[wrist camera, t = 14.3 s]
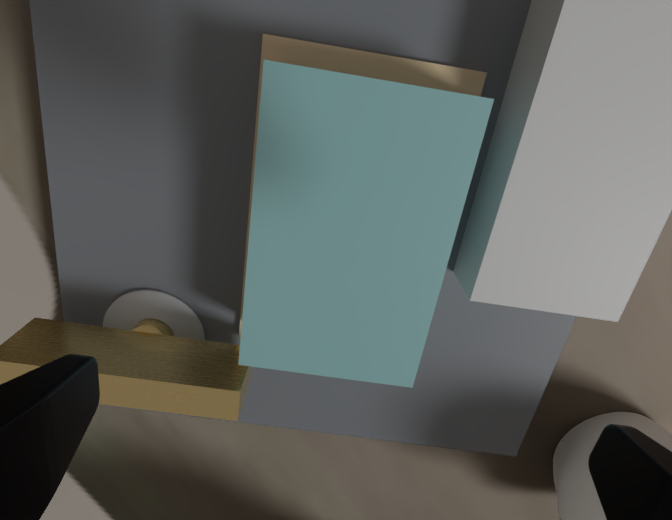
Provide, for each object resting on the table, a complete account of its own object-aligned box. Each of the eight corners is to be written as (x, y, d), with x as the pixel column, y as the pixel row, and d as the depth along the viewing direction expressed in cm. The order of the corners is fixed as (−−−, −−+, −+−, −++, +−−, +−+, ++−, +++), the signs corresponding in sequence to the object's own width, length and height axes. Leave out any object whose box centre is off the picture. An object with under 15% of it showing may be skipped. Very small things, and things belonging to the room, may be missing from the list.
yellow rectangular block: (255, 363, 20) (237, 425, 16) (53, 336, 19) (-10, 394, 16) (258, 329, 19) (240, 387, 16) (49, 301, 19) (-18, 354, 15)
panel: (505, 433, 23) (536, 501, 20) (88, 380, 22) (38, 441, 18) (677, 13, 16) (782, -5, 12) (46, -104, 14) (-54, -164, 11)
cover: (402, 345, 19) (412, 387, 16) (252, 324, 19) (238, 364, 16) (467, 94, 15) (493, 99, 12) (277, 61, 15) (263, 59, 12)
